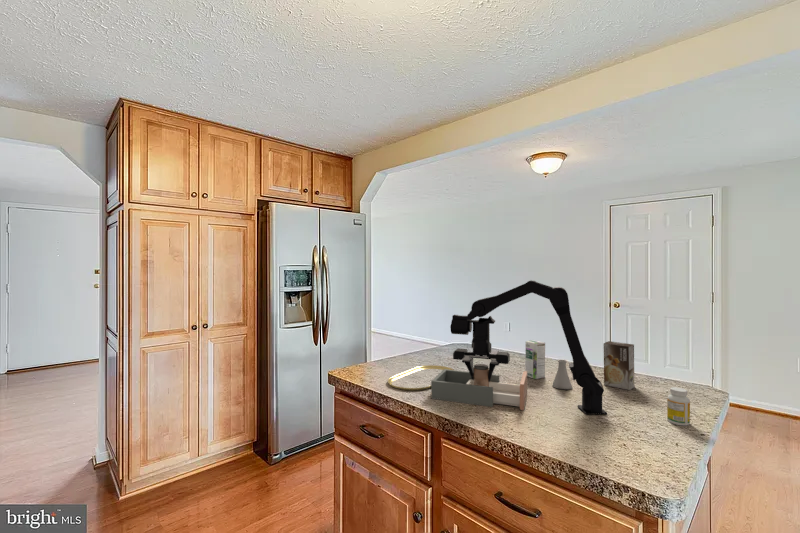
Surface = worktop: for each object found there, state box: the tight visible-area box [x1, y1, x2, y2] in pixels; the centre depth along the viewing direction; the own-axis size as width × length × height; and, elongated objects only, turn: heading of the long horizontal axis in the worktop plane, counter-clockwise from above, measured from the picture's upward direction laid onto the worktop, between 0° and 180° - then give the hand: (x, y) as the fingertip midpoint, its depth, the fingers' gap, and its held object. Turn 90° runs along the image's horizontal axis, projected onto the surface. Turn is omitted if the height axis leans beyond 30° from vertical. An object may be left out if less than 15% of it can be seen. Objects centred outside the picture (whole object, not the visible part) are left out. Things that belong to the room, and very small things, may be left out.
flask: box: [551, 359, 573, 390], centre depth 143 cm, size 7×7×10 cm
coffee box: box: [602, 340, 636, 391], centre depth 145 cm, size 9×6×16 cm
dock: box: [430, 369, 500, 408], centre depth 134 cm, size 21×16×6 cm
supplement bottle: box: [666, 386, 691, 427], centre depth 111 cm, size 5×5×10 cm
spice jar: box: [473, 363, 489, 387], centre depth 132 cm, size 5×5×7 cm
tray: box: [466, 370, 528, 411], centre depth 131 cm, size 20×16×8 cm
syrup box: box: [524, 339, 546, 380], centre depth 157 cm, size 6×6×14 cm
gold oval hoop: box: [387, 364, 455, 392], centre depth 154 cm, size 19×35×2 cm, turn 145°
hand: (481, 380), depth 132 cm, fingers closed on spice jar, 5 cm apart
